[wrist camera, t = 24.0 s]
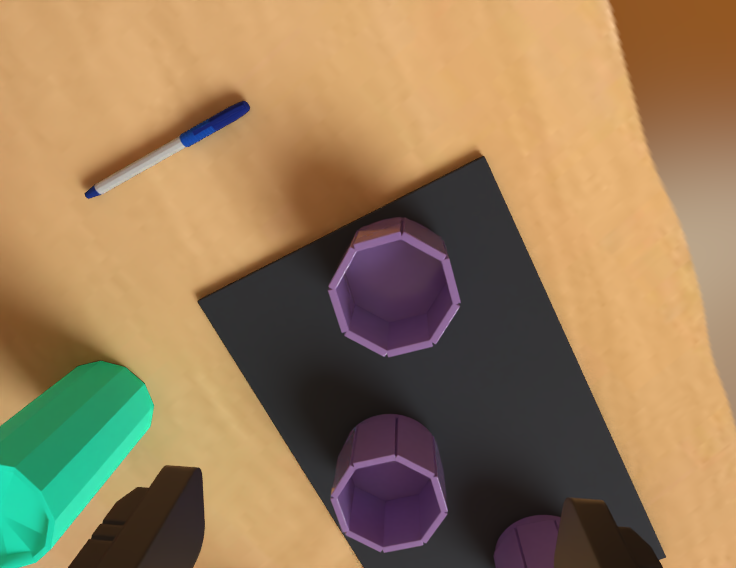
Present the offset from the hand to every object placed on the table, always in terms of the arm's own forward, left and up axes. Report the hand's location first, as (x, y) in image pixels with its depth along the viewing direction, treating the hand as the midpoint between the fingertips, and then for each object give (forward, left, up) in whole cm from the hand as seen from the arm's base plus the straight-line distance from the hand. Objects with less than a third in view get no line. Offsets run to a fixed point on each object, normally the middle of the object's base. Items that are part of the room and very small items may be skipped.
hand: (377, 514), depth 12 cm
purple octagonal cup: (+6, -10, -20) cm, 23 cm away
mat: (+8, -8, -20) cm, 23 cm away
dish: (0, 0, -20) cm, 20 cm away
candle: (-11, -16, -20) cm, 29 cm away
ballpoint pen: (-14, 0, -20) cm, 25 cm away
